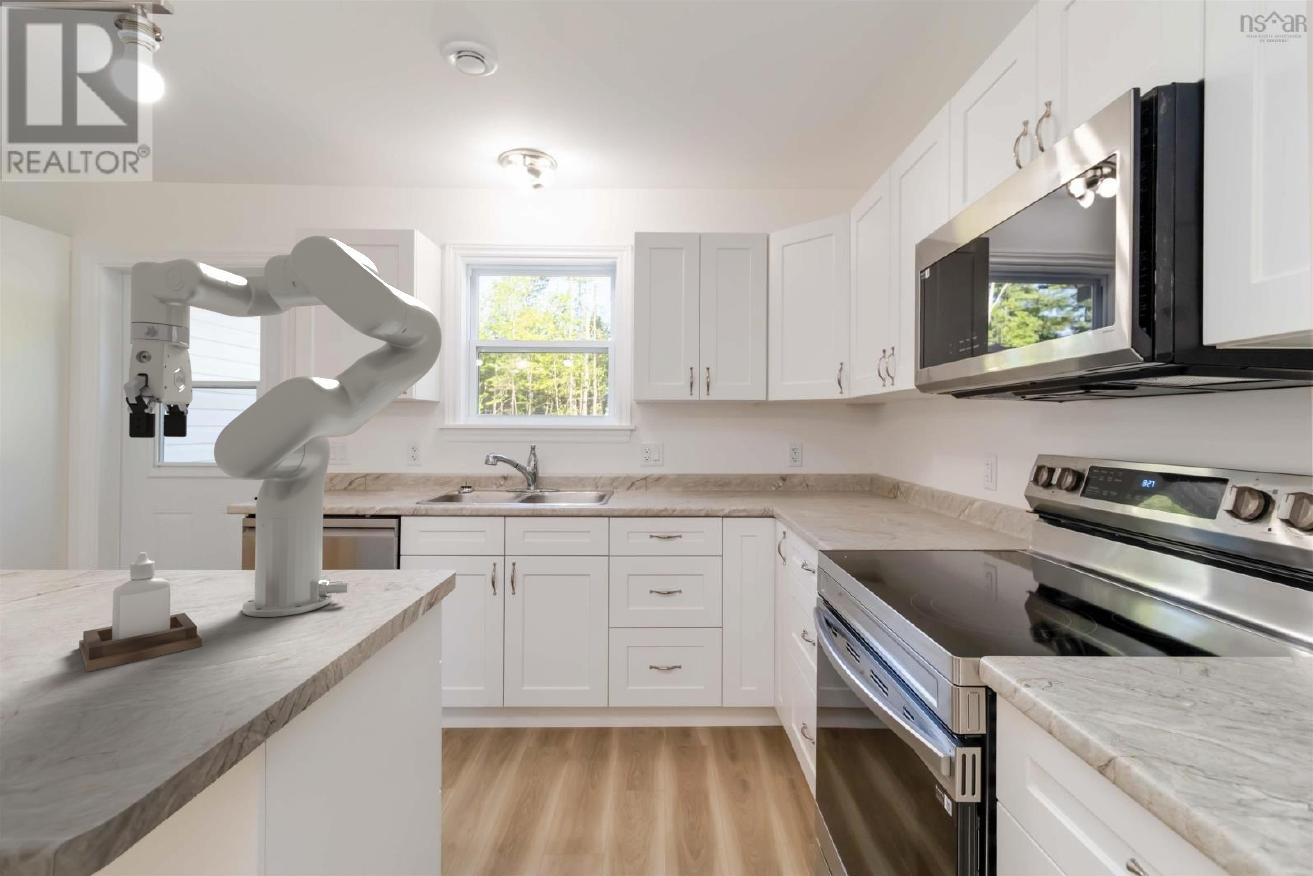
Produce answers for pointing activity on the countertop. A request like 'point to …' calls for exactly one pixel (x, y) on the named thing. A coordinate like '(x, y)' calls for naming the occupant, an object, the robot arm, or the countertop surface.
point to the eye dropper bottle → (141, 602)
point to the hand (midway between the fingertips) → (159, 437)
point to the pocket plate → (137, 644)
